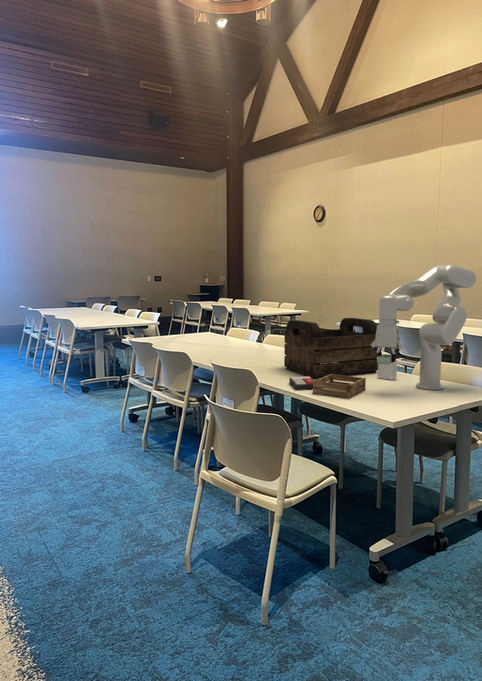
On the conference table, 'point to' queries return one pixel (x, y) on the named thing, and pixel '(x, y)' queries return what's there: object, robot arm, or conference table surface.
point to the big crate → (339, 386)
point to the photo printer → (387, 371)
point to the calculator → (301, 383)
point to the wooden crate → (330, 348)
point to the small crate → (384, 359)
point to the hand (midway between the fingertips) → (386, 361)
